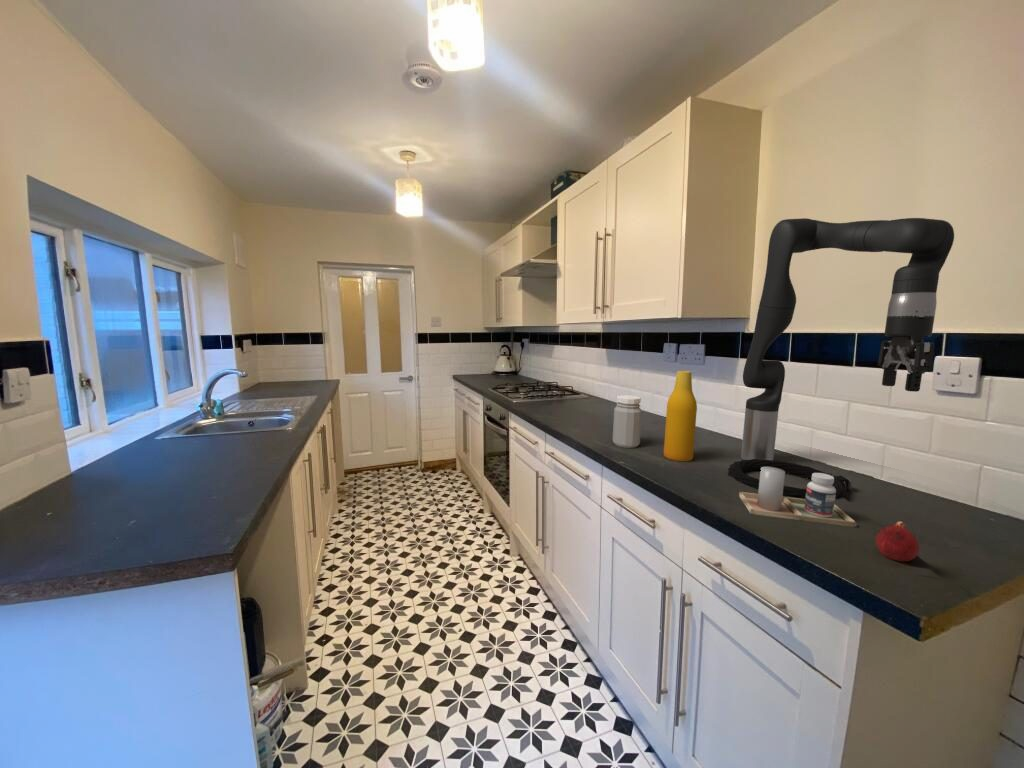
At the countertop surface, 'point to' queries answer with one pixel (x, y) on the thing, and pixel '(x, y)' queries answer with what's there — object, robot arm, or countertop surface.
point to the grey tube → (771, 488)
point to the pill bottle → (820, 495)
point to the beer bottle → (681, 420)
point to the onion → (897, 543)
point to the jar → (627, 421)
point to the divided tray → (795, 511)
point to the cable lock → (803, 471)
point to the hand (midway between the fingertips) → (899, 388)
